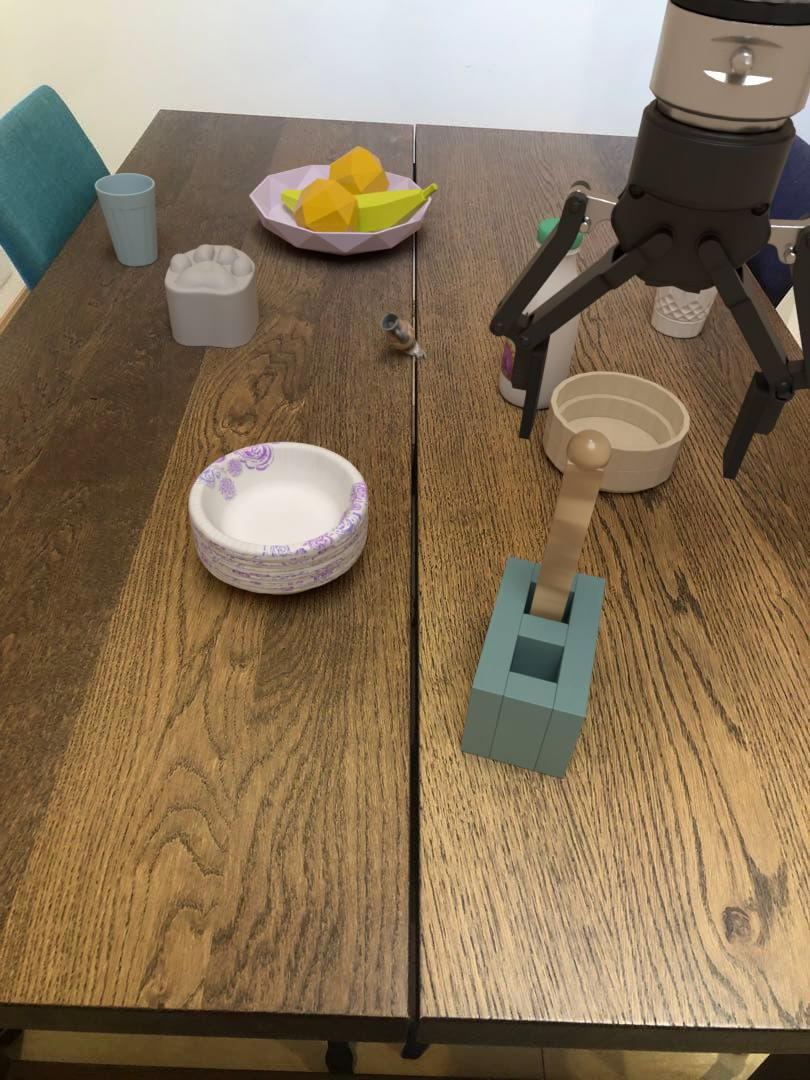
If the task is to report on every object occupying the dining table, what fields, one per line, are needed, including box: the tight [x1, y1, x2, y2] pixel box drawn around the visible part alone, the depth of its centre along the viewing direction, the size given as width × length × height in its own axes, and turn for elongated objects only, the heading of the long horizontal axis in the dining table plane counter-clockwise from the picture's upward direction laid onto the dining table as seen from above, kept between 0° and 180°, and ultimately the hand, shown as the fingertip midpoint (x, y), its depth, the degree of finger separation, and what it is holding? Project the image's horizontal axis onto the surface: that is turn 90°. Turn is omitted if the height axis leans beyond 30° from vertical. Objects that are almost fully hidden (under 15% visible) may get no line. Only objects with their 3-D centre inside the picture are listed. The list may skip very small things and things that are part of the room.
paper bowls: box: [187, 441, 369, 596], centre depth 72 cm, size 15×15×8 cm
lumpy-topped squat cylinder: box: [164, 243, 260, 349], centre depth 102 cm, size 10×13×9 cm
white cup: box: [650, 286, 718, 339], centre depth 107 cm, size 8×8×10 cm
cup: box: [94, 172, 159, 267], centre depth 112 cm, size 8×8×10 cm
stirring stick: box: [529, 430, 611, 622], centre depth 59 cm, size 3×3×24 cm
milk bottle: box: [498, 217, 584, 410], centre depth 90 cm, size 8×8×20 cm
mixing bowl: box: [541, 370, 691, 494], centre depth 87 cm, size 14×14×6 cm
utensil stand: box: [459, 555, 607, 780], centre depth 62 cm, size 8×13×8 cm, turn 164°
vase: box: [379, 312, 428, 364], centre depth 99 cm, size 5×5×6 cm
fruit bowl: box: [248, 145, 439, 257], centre depth 121 cm, size 28×27×11 cm
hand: (625, 447), depth 56 cm, fingers open, 13 cm apart
